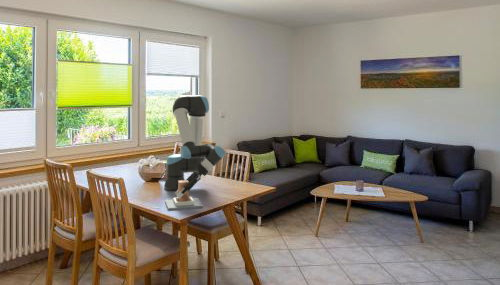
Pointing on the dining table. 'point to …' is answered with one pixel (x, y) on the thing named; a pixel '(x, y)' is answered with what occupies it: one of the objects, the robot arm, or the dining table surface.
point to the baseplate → (183, 204)
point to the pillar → (180, 187)
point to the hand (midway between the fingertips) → (177, 195)
